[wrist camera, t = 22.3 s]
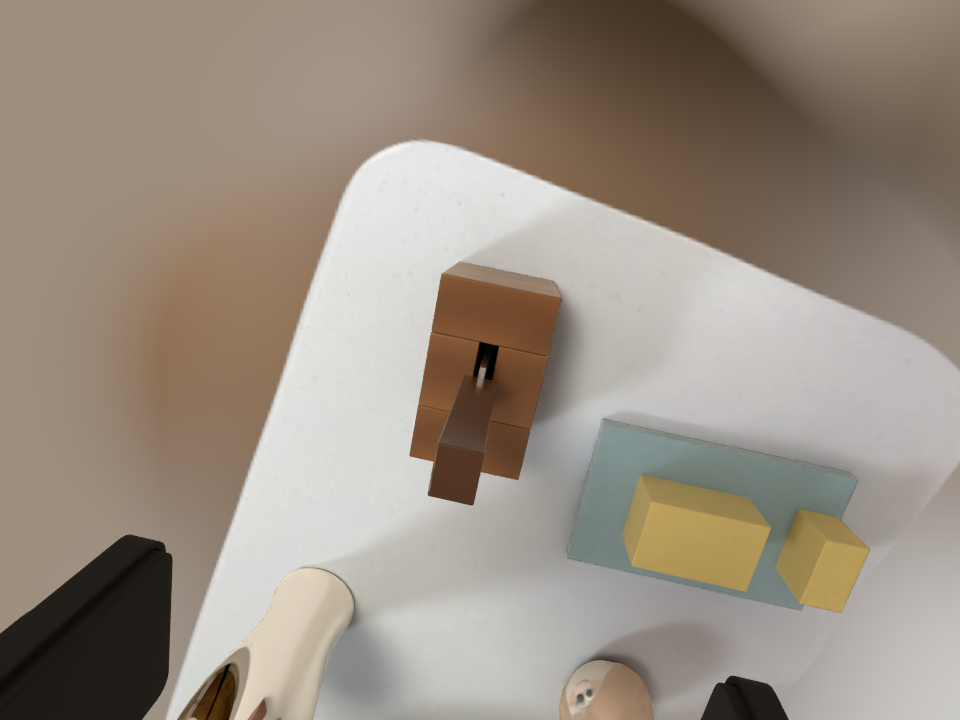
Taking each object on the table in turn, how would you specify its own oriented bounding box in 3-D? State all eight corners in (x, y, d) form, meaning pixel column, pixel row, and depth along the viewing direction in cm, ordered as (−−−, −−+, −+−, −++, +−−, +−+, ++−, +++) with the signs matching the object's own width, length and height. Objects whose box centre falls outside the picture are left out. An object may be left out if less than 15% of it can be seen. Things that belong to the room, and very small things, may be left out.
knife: (482, 326, 34) (439, 429, 18) (506, 331, 34) (487, 439, 18) (472, 371, 35) (424, 509, 18) (497, 376, 35) (470, 519, 18)
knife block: (458, 261, 33) (441, 273, 26) (555, 281, 33) (562, 298, 26) (431, 411, 36) (408, 456, 29) (520, 430, 36) (518, 480, 29)
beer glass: (359, 565, 39) (261, 768, 25) (361, 644, 41) (271, 876, 27) (266, 557, 40) (119, 752, 25) (273, 636, 42) (138, 859, 27)
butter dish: (602, 418, 35) (604, 424, 34) (849, 471, 34) (859, 479, 33) (566, 549, 38) (567, 558, 37) (794, 600, 37) (801, 611, 36)
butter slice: (798, 507, 34) (827, 539, 31) (837, 516, 34) (871, 549, 31) (773, 567, 36) (799, 604, 32) (811, 575, 35) (841, 613, 32)
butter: (639, 473, 35) (651, 501, 31) (748, 497, 34) (772, 527, 31) (621, 533, 36) (630, 566, 32) (725, 556, 36) (746, 592, 32)
